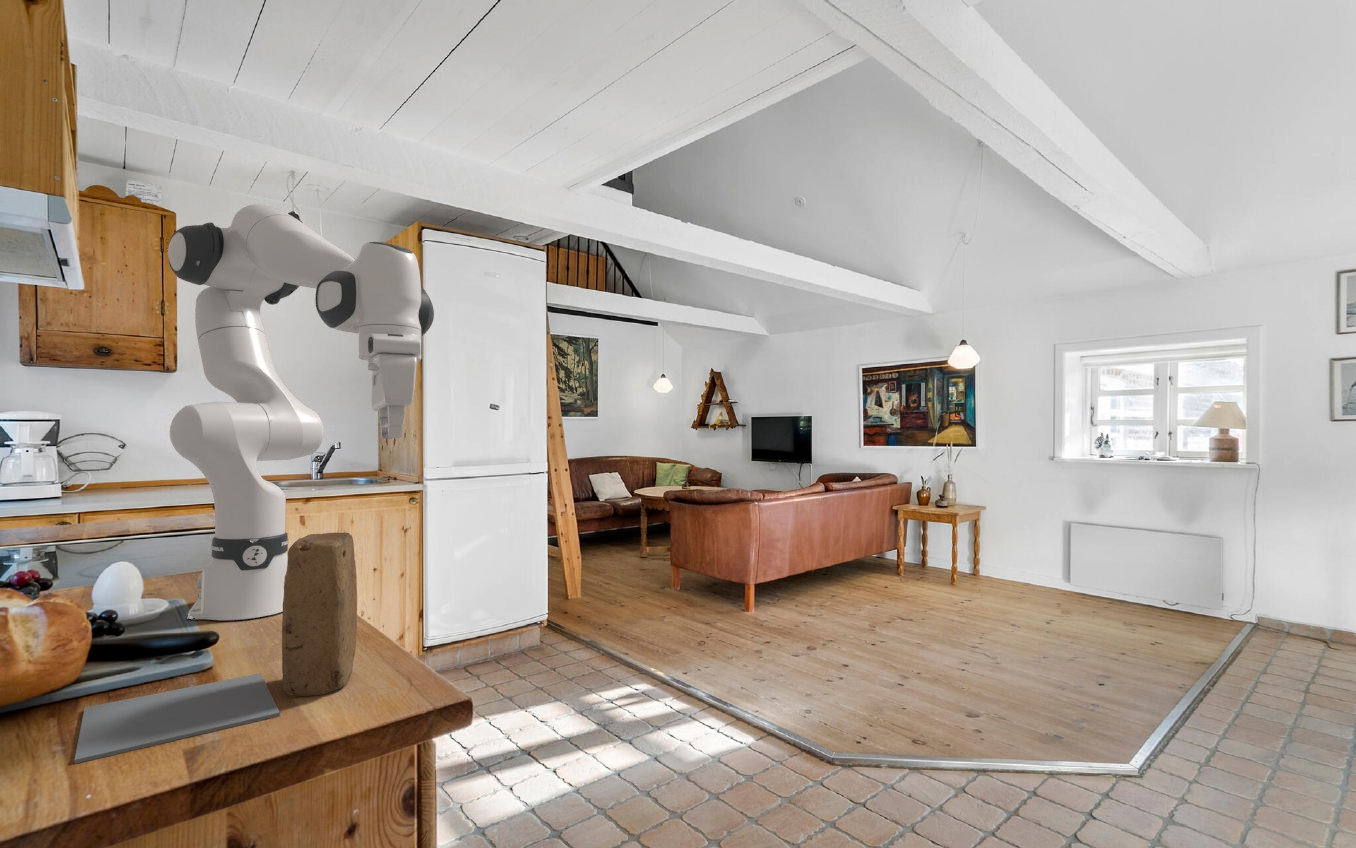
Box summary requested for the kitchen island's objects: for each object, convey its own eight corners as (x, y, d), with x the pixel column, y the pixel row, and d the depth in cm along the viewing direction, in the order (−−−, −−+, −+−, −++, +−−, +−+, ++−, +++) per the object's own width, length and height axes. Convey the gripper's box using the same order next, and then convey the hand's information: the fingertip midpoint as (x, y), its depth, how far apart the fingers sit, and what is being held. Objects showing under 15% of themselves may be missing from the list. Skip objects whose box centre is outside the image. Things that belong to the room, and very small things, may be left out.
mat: (84, 710, 78) (84, 707, 78) (260, 676, 90) (260, 673, 90) (74, 764, 66) (74, 760, 66) (279, 716, 77) (279, 712, 77)
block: (339, 697, 83) (342, 541, 83) (274, 702, 81) (277, 542, 82) (362, 667, 94) (364, 528, 94) (305, 671, 92) (307, 529, 92)
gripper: (362, 355, 107) (362, 439, 107) (374, 337, 89) (374, 438, 89) (403, 357, 110) (403, 439, 110) (423, 340, 92) (423, 437, 92)
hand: (390, 438), depth 99 cm, fingers open, 8 cm apart
